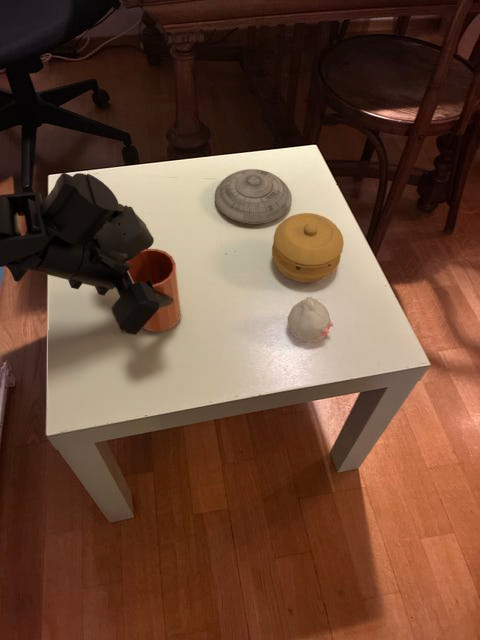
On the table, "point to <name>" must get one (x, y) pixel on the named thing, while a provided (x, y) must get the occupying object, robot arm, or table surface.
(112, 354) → the table surface
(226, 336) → the table surface
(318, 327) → the figurine
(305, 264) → the pot
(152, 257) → the tumbler
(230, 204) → the flying saucer
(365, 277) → the table surface
